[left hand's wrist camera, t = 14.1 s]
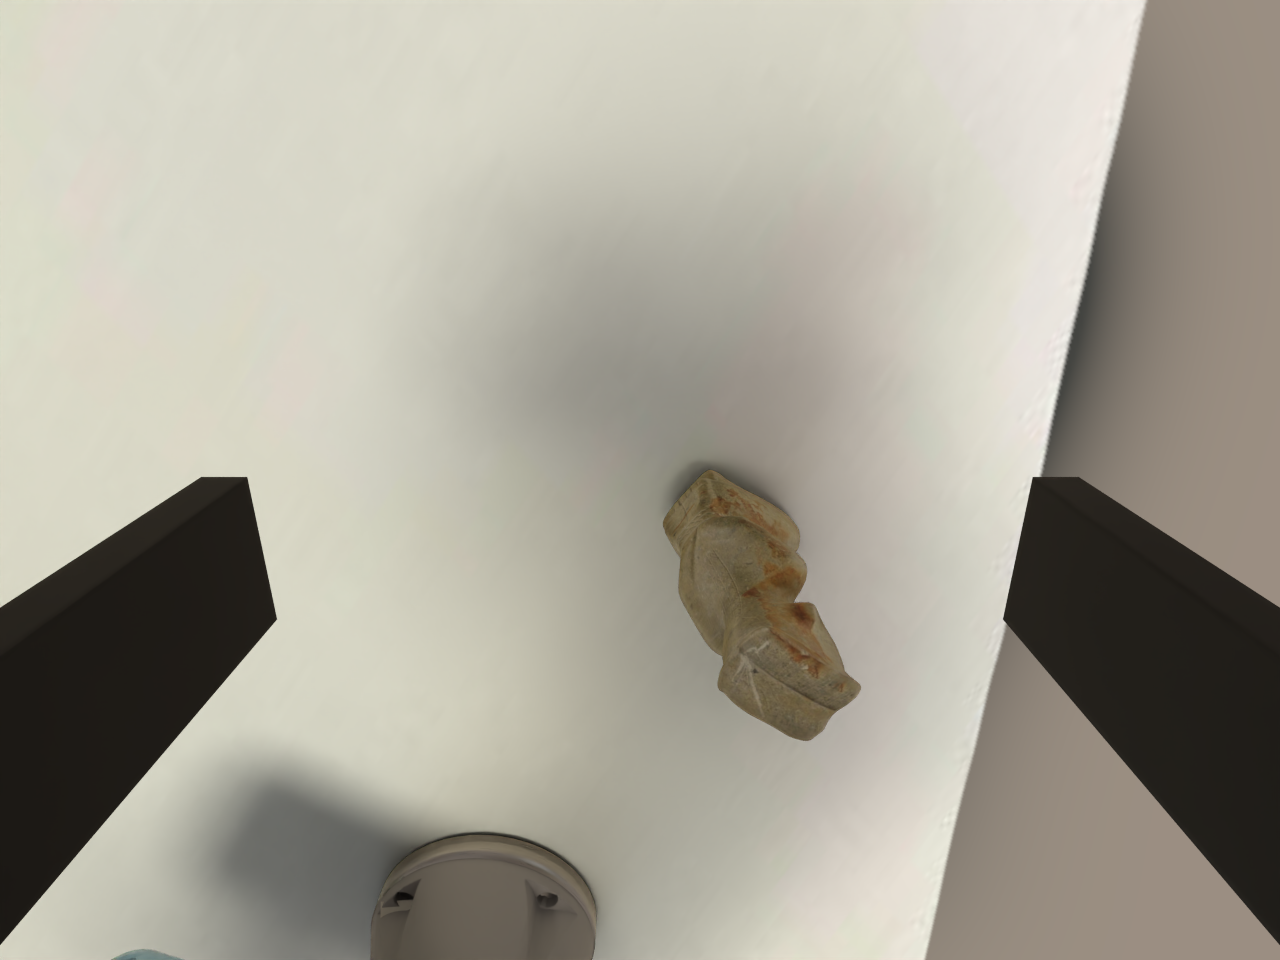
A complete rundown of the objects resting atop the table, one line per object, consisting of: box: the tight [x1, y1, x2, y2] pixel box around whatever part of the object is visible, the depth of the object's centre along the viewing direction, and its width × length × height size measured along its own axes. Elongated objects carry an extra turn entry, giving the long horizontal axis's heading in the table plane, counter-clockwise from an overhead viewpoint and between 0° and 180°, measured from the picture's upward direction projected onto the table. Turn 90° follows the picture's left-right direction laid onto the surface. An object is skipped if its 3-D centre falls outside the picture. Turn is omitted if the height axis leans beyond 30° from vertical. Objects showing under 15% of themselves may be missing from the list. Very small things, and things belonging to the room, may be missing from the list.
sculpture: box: [663, 470, 861, 741], centre depth 34 cm, size 6×7×15 cm
